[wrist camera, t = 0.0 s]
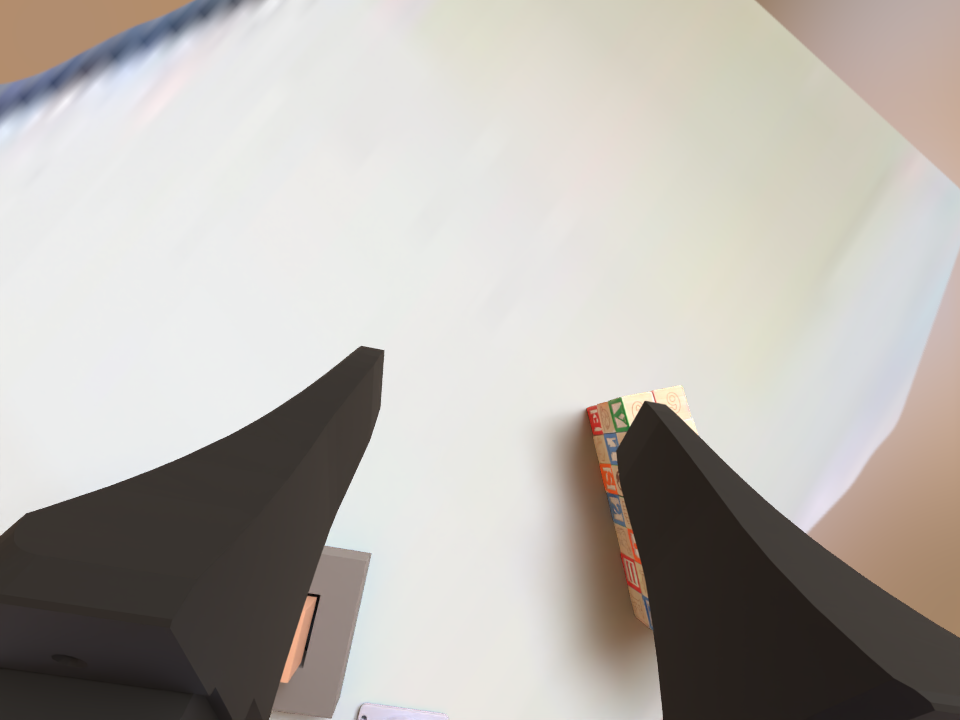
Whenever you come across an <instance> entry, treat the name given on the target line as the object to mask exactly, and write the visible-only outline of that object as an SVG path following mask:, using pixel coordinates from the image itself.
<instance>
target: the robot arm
mask: <svg viewBox="0 0 960 720" xmlns="http://www.w3.org/2000/svg"><path fill="white" fill-rule="evenodd" d="M383 363H384V350H380V349H375V348H370V347H364V346H361V347H359V348H357V349H356V350H355V351H354V352H352V353H351V354H350V355H349V356H347V357H346V358H345V359H344V360H343V361H341V362H340V363H339V364H338V365H336V366H335V367H334V368H333V369H331V370H330V371H329V372H327V373H326V374H325V375H323V376H322V377H321V378H319V379H318V380H317V381H315V382H314V383H313V384H311V385H310V386H309V387H307V388H306V389H304V390H303V391H302V392H300V393H299V394H297V395H296V396H294V397H293V398H291V399H290V400H288V401H287V402H285V403H284V404H282V405H281V406H279V407H278V408H276V409H275V410H273V411H271V412H270V413H268V414H266V415H265V416H263V417H261V418H260V419H258V420H256V421H255V422H253V423H251V424H249V425H247V426H246V427H244V428H242V429H240V430H238V431H237V432H235V433H233V434H231V435H229V436H227V437H225V438H223V439H220V440H218V441H216V442H214V443H212V444H210V445H208V446H206V447H203V448H201V449H199V450H197V451H195V452H193V453H191V454H189V455H186V456H184V457H182V458H180V459H177V460H175V461H173V462H170V463H168V464H165V465H163V466H160V467H158V468H156V469H153V470H151V471H148V472H145V473H143V474H140V475H138V476H135V477H132V478H130V479H127V480H125V481H122V482H119V483H116V484H114V485H111V486H108V487H105V488H103V489H100V490H97V491H94V492H91V493H88V494H85V495H82V496H79V497H76V498H73V499H70V500H67V501H64V502H61V503H58V504H55V505H52V506H49V507H46V508H43V509H39V510H36V511H33V512H30V513H26V514H25V515H24V516H23V517H22V518H20V519H19V520H18V521H17V522H16V523H15V524H13V525H12V526H11V527H10V528H9V529H8V530H7V531H5V532H4V533H3V534H2V535H1V536H0V720H269V717H270V714H271V710H272V707H273V704H274V700H275V697H276V694H277V690H278V687H279V684H280V681H281V677H282V674H283V671H284V667H285V664H286V661H287V658H288V654H289V651H290V648H291V645H292V642H293V639H294V636H295V632H296V629H297V626H298V623H299V620H300V617H301V614H302V611H303V607H304V604H305V601H306V598H307V595H308V592H309V589H310V586H311V583H312V580H313V577H314V574H315V571H316V568H317V565H318V563H319V560H320V557H321V554H322V551H323V548H324V545H325V542H326V540H327V537H328V534H329V531H330V528H331V526H332V523H333V521H334V518H335V516H336V513H337V511H338V509H339V507H340V505H341V502H342V500H343V498H344V496H345V494H346V492H347V489H348V487H349V485H350V483H351V481H352V479H353V476H354V474H355V472H356V470H357V468H358V466H359V463H360V461H361V459H362V457H363V455H364V452H365V450H366V448H367V446H368V443H369V441H370V439H371V436H372V432H373V429H374V426H375V423H376V420H377V417H378V414H379V410H380V406H381V391H382V377H383ZM616 454H617V464H618V472H619V480H620V486H621V490H622V494H623V497H624V501H625V505H626V509H627V513H628V516H629V520H630V524H631V527H632V531H633V535H634V538H635V542H636V546H637V549H638V553H639V557H640V560H641V564H642V568H643V573H644V577H645V582H646V588H647V594H648V600H649V606H650V612H651V618H652V625H653V633H654V640H655V647H656V655H657V662H658V672H659V681H660V691H661V701H662V710H663V720H960V638H959V637H957V636H956V635H954V634H952V633H951V632H949V631H947V630H946V629H944V628H942V627H940V626H939V625H937V624H935V623H934V622H932V621H931V620H929V619H928V618H926V617H924V616H923V615H921V614H920V613H918V612H917V611H915V610H913V609H912V608H910V607H909V606H907V605H906V604H904V603H902V602H901V601H900V600H898V599H897V598H895V597H893V596H892V595H890V594H889V593H887V592H886V591H884V590H883V589H881V588H880V587H879V586H877V585H876V584H874V583H873V582H871V581H870V580H868V579H867V578H865V577H864V576H862V575H861V574H860V573H858V572H857V571H855V570H854V569H853V568H851V567H850V566H848V565H847V564H846V563H844V562H843V561H842V560H840V559H839V558H837V557H836V556H834V555H833V554H832V553H831V552H829V551H828V550H826V549H825V548H824V547H822V546H821V545H820V544H819V543H817V542H816V541H815V540H813V539H812V538H811V537H809V536H808V535H807V534H806V533H804V532H803V531H802V530H801V529H799V528H798V527H797V526H796V525H795V524H793V523H792V522H791V521H790V520H788V519H787V518H786V517H785V516H783V515H782V514H781V513H780V512H779V511H777V510H776V509H775V508H774V507H773V506H772V505H771V504H769V503H768V502H767V501H766V500H765V499H764V498H763V497H762V496H760V495H759V494H758V493H757V492H756V491H755V490H754V489H753V488H752V487H751V486H749V485H748V484H747V483H746V482H745V481H744V480H743V479H742V478H741V477H740V476H739V475H738V474H737V473H736V472H734V471H733V470H732V469H731V468H730V467H729V466H728V465H727V464H726V463H725V462H724V461H723V460H722V459H721V458H720V457H719V456H718V455H717V454H716V453H715V452H714V451H713V450H712V449H711V448H710V447H709V446H708V445H707V444H706V443H705V442H704V441H703V440H702V439H701V438H700V437H699V436H698V435H697V434H696V433H695V432H694V431H693V430H692V429H691V428H690V427H689V426H688V425H687V424H686V423H685V422H684V421H683V420H682V419H681V418H680V417H679V416H678V415H677V414H676V413H675V412H674V411H673V410H672V409H670V408H669V407H668V406H667V405H665V404H660V403H655V402H650V401H644V403H643V404H642V406H641V408H640V410H639V411H638V413H637V415H636V417H635V419H634V420H633V422H632V424H631V426H630V427H629V429H628V431H627V433H626V434H625V436H624V438H623V440H622V441H621V443H620V445H619V447H618V448H617V450H616ZM363 715H365V716H366V717H367V718H366V719H362V716H363ZM358 720H449V717H448V716H447V715H446V714H443V713H435V712H428V711H421V710H414V709H407V708H399V707H392V706H385V705H378V704H371V703H364V704H363V705H362V706H361V708H360V711H359V716H358Z"/></svg>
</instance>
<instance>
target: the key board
mask: <svg viewBox="0 0 960 720" xmlns="http://www.w3.org/2000/svg"><path fill="white" fill-rule="evenodd" d="M370 558H371V553H366V552H359V551H353V550H347V549H341V548H335V547H329V546H324V548H323V551H322V554H321V557H320V560H319V563H318V565H317V568H316V571H315V574H314V577H313V580H312V583H311V586H310V589H309V592H308V593H312V594H318V595H321V596H320V600H319V604H318V608H317V613H316V617H315V621H314V625H313V629H312V633H311V637H310V641H309V645H308V650H307V651H305V650H304V653H303V657H302V661H301V663H300V665H299V667H298V668H297V670H296V671H295V673H294V674H293V676H292V677H291V679H290V680H289V682H288V683H283V682H280V684H279V687H278V690H277V694H276V697H275V700H274V704H273V707H272V710H273V711H280V712H287V713H295V714H302V715H310V716H317V717H324V718H332V715H333V713H334V710H335V708H336V705H337V703H338V700H339V698H340V694H341V689H342V685H343V680H344V676H345V671H346V666H347V662H348V657H349V653H350V648H351V644H352V639H353V635H354V630H355V626H356V621H357V617H358V612H359V607H360V603H361V598H362V594H363V589H364V585H365V580H366V576H367V571H368V567H369V562H370Z"/></svg>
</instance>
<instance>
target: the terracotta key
mask: <svg viewBox="0 0 960 720" xmlns="http://www.w3.org/2000/svg"><path fill="white" fill-rule="evenodd" d="M316 600H317V597H311V596H307V598H306V601H305V604H304V607H303V611H302V614H301V617H300V620H299V623H298V626H297V629H296V632H295V636H294V639H293V642H292V645H291V648H290V651H289V654H288V658H287V661H286V664H285V667H284V671H283V674H282V677H281V681H280V682H283V683H288V682H289V680H290V679H291V677H292V676H293V674H294V673H295V671H296V670H297V668H298V667H299V665H300V663H301V661H302V657H303V653H304V649H305V645H306V640H307V636H308V632H309V628H310V624H311V620H312V616H313V612H314V608H315V604H316Z"/></svg>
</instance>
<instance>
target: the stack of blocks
mask: <svg viewBox="0 0 960 720" xmlns="http://www.w3.org/2000/svg"><path fill="white" fill-rule="evenodd" d="M644 401H650V402H655V403H660V404H665V405H667V406H668V407H669V408H670V409H672V410H673V411H674V412H675V413H676V414H677V415H678V416H679V417H680V418H681V419H682V420H683V421H684V422H685V423H686V424H687V425H688V426H689V427H690V428H691V429H692V430H693V431H694V432H695V433H696V434H697V435H698V433H697V430H696V427H695V423H694V420H693V418H692V417H691V413H690V410H689V406H688V403H687V399H686V396H685V393H684V389H683V386H682V385H680V386H675V387H669V388H664V389H658V390H653V391H649V392H644V393H639V394H634V395H629V396H623V397H619V398H616V399H613V400H610V401H608V402H604V403H600V404H597V405H595V406H591V407H588V408H587V412H588V416H589V420H590V424H591V428H592V432H593V435H594V436H593V440H594V444H595V448H596V452H597V456H598V460H599V463H600V470H601V474H602V478H603V483H604V487H605V491H606V492H607V497H608V501H609V505H610V509H611V514H612V518H613V521H614V525H615V530H616V534H617V538H618V542H619V547H620V550H621V558H622V563H623V567H624V571H625V575H626V580H627V584H628V589H629V594H630V598H631V602H632V607H633V611H634V615H635V617H636V618H637V619H639V620H640V621H641V622H643V623H644V624H645V625H646V626H647V627H649V628H650V629H652V630H653V625H652V618H651V612H650V606H649V600H648V594H647V588H646V582H645V577H644V573H643V568H642V564H641V560H640V557H639V553H638V549H637V546H636V542H635V538H634V535H633V531H632V527H631V524H630V520H629V516H628V513H627V509H626V505H625V501H624V497H623V494H622V490H621V486H620V480H619V472H618V464H617V454H616V450H617V448H618V447H619V445H620V443H621V441H622V440H623V438H624V436H625V434H626V433H627V431H628V429H629V427H630V426H631V424H632V422H633V420H634V419H635V417H636V415H637V413H638V411H639V410H640V408H641V406H642V404H643V403H644Z"/></svg>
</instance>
